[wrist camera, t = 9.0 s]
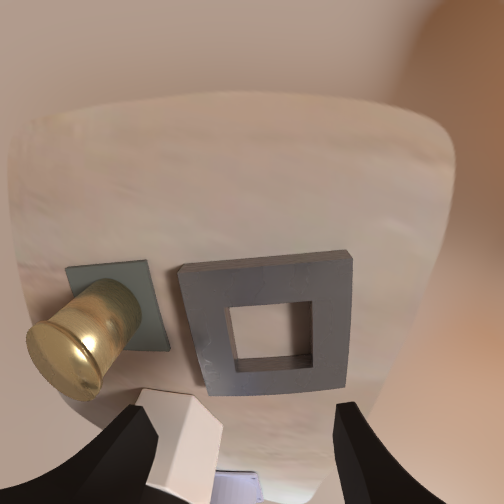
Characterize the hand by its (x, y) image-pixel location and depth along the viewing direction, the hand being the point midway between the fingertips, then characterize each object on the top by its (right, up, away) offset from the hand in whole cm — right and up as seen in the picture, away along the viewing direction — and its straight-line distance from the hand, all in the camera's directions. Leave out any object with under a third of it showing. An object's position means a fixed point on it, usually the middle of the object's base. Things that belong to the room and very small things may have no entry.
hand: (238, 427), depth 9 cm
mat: (-9, +2, +10) cm, 14 cm away
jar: (-6, -9, +14) cm, 18 cm away
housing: (+2, +1, +10) cm, 10 cm away
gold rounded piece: (-9, +2, +10) cm, 14 cm away
